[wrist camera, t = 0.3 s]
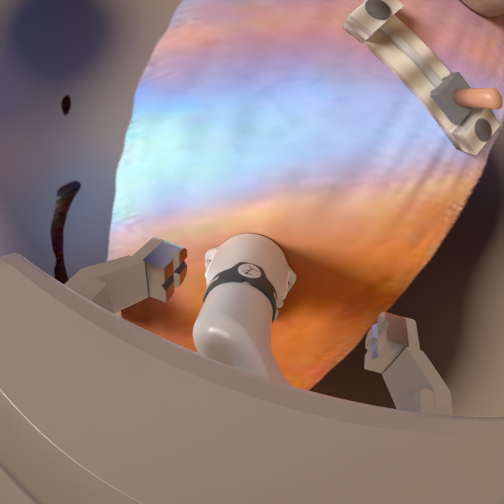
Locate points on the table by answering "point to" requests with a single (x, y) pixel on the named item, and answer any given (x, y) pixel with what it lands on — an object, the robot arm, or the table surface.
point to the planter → (486, 7)
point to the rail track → (416, 69)
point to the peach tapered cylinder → (463, 97)
